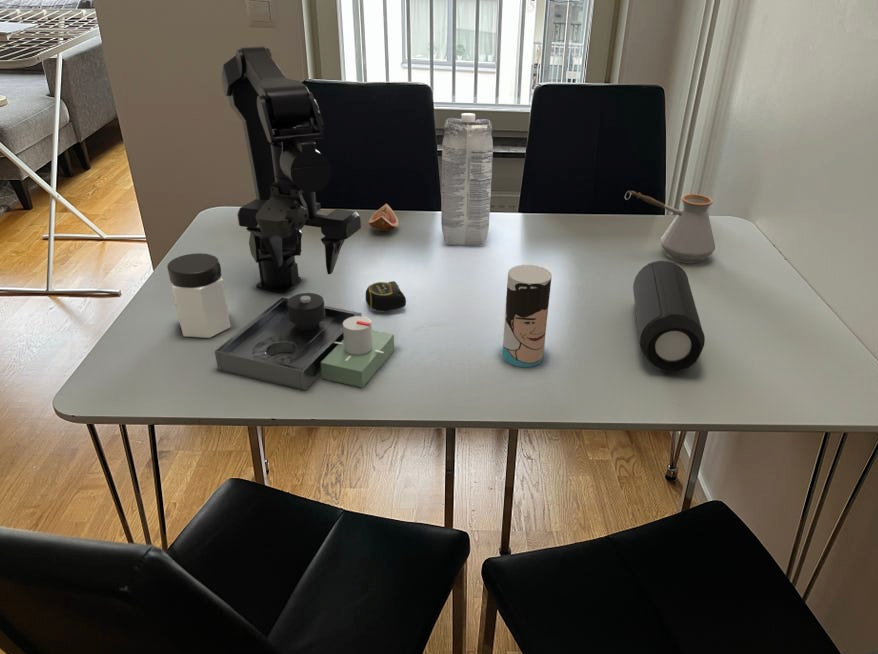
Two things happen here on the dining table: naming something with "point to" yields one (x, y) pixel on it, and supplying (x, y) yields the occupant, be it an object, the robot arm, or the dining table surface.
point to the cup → (526, 315)
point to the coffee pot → (686, 228)
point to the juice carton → (466, 180)
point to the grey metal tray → (274, 370)
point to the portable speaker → (667, 317)
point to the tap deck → (357, 361)
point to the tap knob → (357, 335)
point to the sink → (288, 340)
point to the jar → (199, 295)
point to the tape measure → (385, 296)
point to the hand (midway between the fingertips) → (304, 269)
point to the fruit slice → (384, 219)
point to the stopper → (306, 310)
